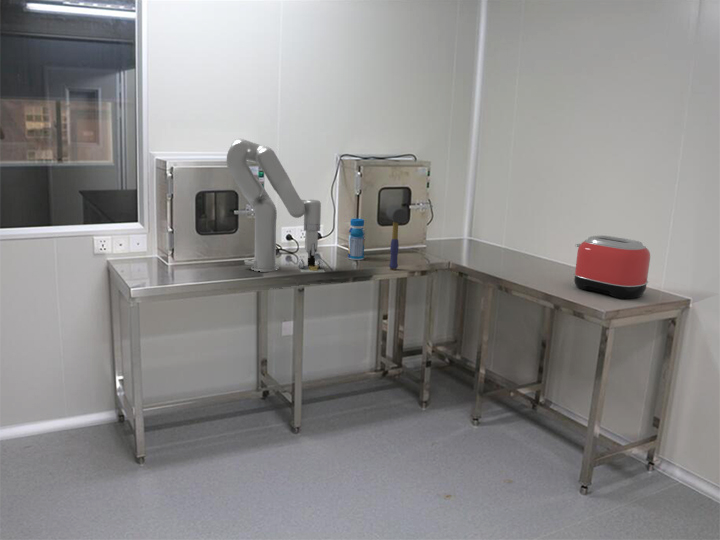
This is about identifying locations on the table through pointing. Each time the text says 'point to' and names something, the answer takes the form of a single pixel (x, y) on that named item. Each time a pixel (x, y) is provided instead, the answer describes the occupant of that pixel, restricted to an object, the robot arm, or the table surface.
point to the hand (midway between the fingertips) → (311, 266)
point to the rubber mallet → (395, 232)
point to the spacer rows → (319, 263)
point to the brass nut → (313, 267)
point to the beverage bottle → (356, 240)
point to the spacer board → (306, 269)
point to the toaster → (612, 266)
